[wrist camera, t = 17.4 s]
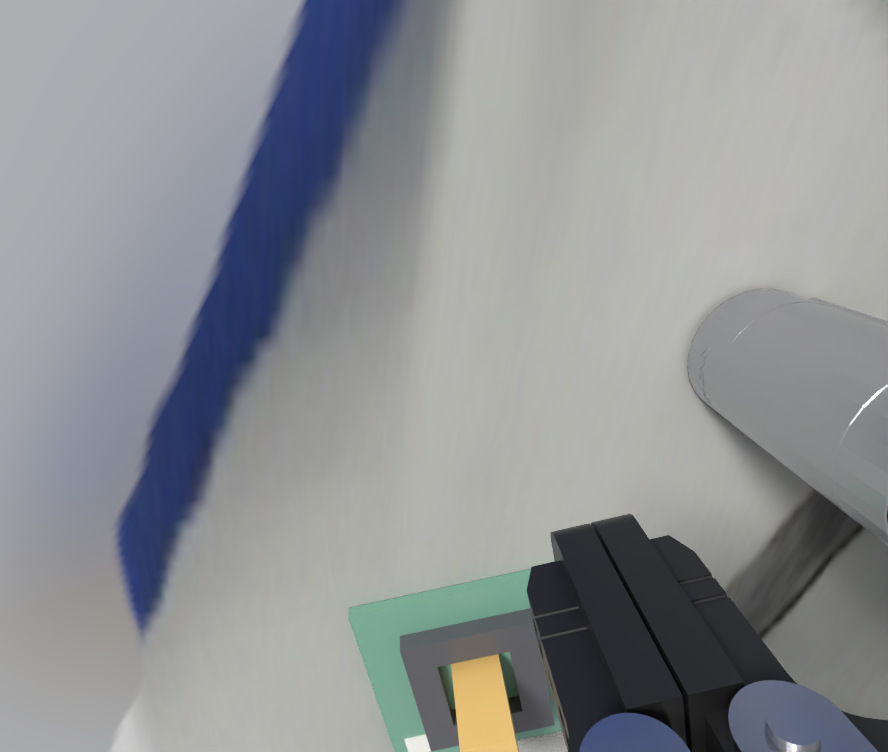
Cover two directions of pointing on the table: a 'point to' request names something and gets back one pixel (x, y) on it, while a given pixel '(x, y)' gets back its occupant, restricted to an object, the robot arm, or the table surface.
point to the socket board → (423, 617)
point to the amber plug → (483, 706)
